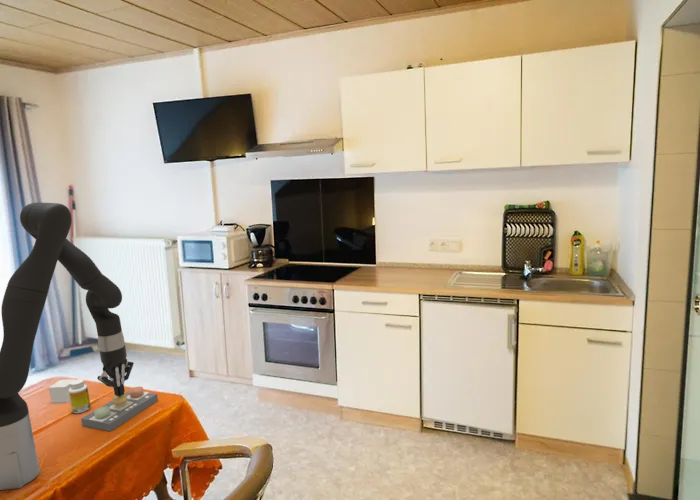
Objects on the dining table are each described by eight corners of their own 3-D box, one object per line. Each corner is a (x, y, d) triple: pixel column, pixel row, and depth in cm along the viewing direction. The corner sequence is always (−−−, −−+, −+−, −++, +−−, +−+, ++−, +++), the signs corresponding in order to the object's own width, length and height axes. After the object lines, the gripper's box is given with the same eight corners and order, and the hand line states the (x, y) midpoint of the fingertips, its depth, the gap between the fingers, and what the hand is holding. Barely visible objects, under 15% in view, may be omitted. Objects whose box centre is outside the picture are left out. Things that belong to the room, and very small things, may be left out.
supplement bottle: (92, 409, 159) (87, 381, 157) (73, 415, 155) (68, 387, 154) (89, 404, 163) (84, 376, 161) (70, 409, 160) (65, 381, 158)
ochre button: (119, 405, 152) (119, 401, 152) (109, 403, 154) (108, 399, 154) (130, 399, 156) (129, 394, 156) (120, 397, 158) (119, 393, 158)
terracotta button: (136, 397, 159) (136, 393, 159) (126, 396, 160) (126, 391, 160) (146, 391, 163) (145, 387, 163) (136, 390, 164) (136, 385, 164)
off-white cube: (51, 403, 165) (48, 387, 164) (62, 395, 171) (59, 379, 170) (68, 402, 165) (65, 386, 164) (78, 394, 171) (75, 379, 170)
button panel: (110, 431, 144) (109, 423, 144) (82, 425, 149) (80, 417, 148) (157, 400, 163) (157, 393, 162) (131, 396, 167) (130, 389, 167)
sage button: (102, 419, 146) (101, 414, 146) (91, 417, 148) (90, 412, 147) (113, 411, 150) (112, 407, 150) (103, 410, 152) (102, 405, 151)
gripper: (103, 355, 144) (112, 406, 148) (136, 339, 156) (144, 387, 160) (85, 353, 147) (94, 403, 150) (119, 337, 159) (127, 384, 162)
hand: (120, 395), depth 155 cm, fingers closed
